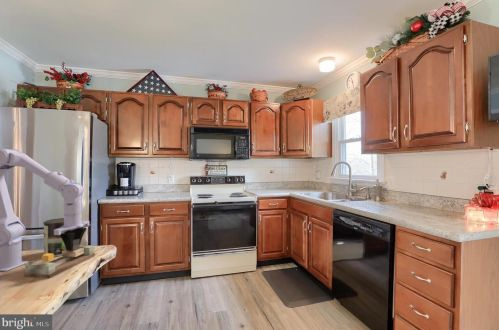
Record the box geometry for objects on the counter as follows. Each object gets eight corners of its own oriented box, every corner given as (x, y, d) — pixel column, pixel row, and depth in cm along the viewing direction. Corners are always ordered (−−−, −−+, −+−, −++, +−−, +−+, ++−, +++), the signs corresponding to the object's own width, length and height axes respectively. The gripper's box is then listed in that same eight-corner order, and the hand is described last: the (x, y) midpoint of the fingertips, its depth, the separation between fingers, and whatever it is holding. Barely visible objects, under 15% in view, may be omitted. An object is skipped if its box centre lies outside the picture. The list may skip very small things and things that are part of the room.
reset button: (42, 261, 82) (42, 255, 82) (47, 258, 84) (47, 253, 84) (48, 261, 82) (48, 255, 82) (53, 259, 84) (53, 253, 84)
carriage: (61, 256, 95) (61, 240, 95) (70, 252, 99) (70, 237, 99) (75, 257, 94) (75, 241, 94) (83, 253, 98) (83, 238, 98)
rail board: (24, 276, 83) (24, 262, 83) (73, 254, 103) (73, 243, 103) (49, 278, 82) (49, 264, 82) (95, 255, 102) (95, 244, 102)
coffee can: (79, 249, 109) (79, 218, 109) (57, 258, 99) (57, 223, 99) (60, 247, 111) (60, 217, 111) (36, 256, 101) (36, 222, 101)
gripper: (65, 218, 89) (65, 255, 89) (95, 210, 103) (95, 242, 103) (48, 217, 90) (48, 254, 90) (80, 210, 104) (80, 241, 104)
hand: (73, 247), depth 97 cm, fingers closed on carriage, 3 cm apart
